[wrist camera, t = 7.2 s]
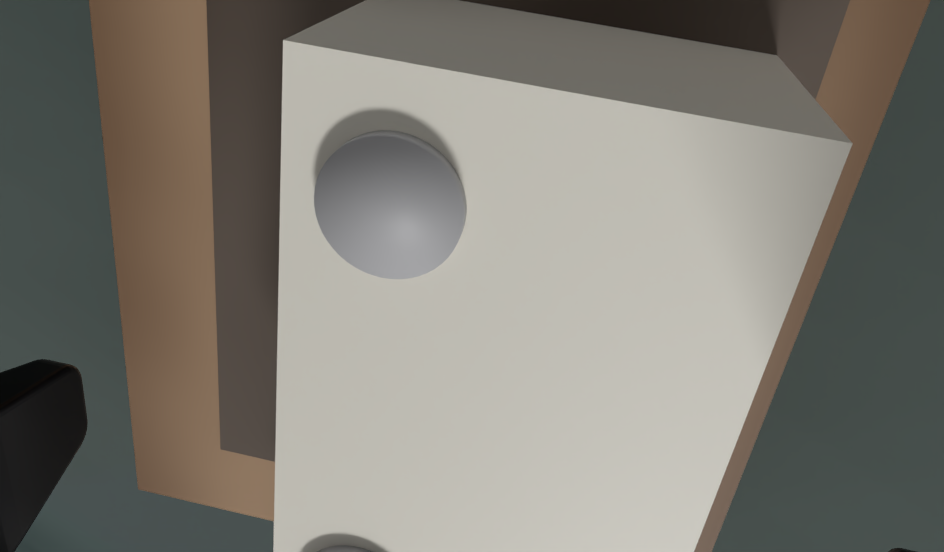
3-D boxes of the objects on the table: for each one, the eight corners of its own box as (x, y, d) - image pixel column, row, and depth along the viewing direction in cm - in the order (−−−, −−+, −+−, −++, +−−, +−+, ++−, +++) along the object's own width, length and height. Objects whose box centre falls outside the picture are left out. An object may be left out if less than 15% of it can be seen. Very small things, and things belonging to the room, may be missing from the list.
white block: (777, 55, 11) (858, 150, 7) (626, 524, 15) (626, 736, 11) (390, -12, 11) (275, 44, 7) (351, 461, 15) (266, 645, 12)
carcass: (900, -147, 12) (1067, -161, 8) (675, 498, 19) (691, 700, 14) (189, -248, 13) (-42, -315, 9) (212, 395, 20) (88, 551, 15)
